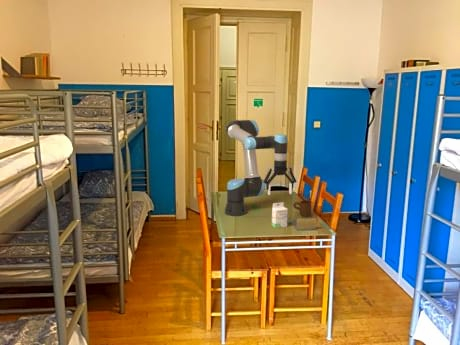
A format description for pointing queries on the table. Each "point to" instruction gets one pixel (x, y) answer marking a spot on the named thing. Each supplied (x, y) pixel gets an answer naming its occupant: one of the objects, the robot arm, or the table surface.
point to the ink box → (279, 215)
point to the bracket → (304, 224)
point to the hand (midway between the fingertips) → (279, 194)
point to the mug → (304, 208)
